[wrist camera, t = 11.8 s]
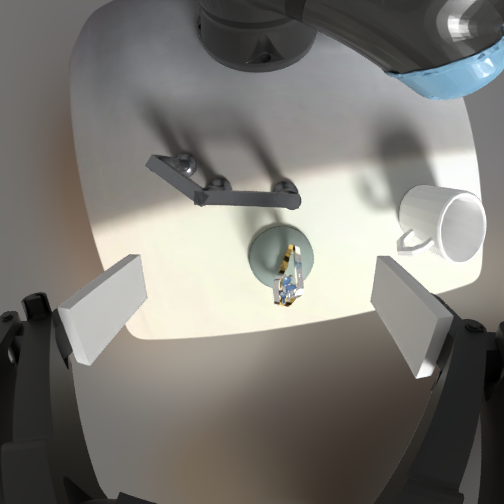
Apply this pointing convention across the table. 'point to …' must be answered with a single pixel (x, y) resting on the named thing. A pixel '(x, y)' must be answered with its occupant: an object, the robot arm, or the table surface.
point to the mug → (442, 223)
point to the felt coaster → (279, 254)
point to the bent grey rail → (219, 186)
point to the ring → (288, 279)
